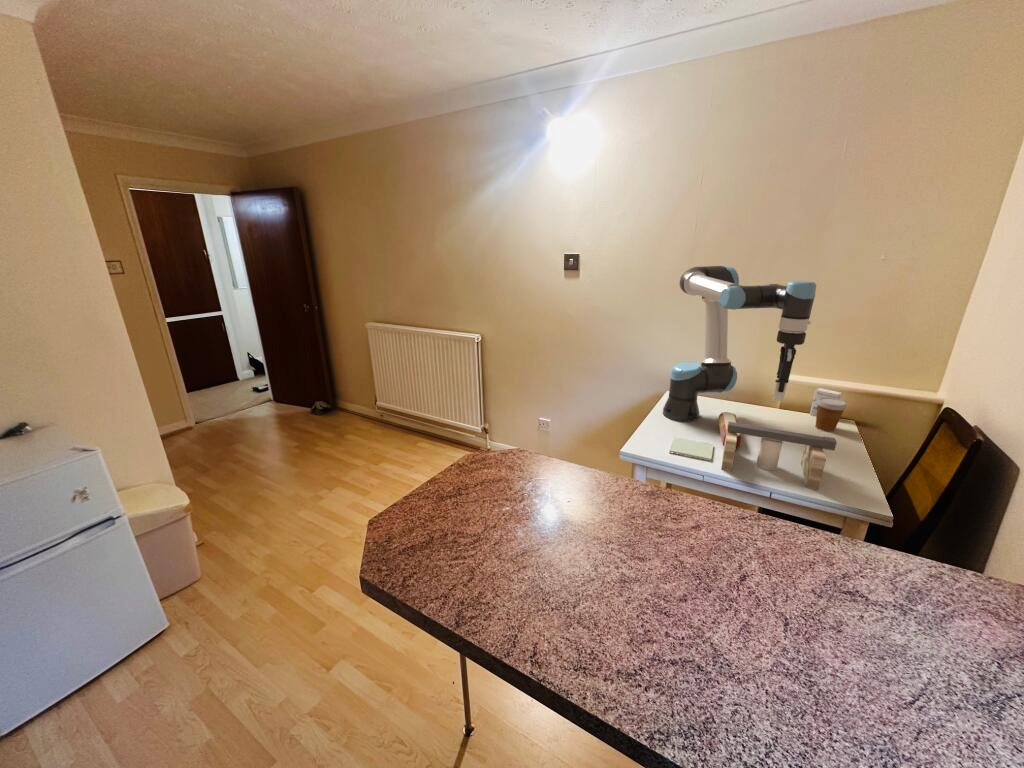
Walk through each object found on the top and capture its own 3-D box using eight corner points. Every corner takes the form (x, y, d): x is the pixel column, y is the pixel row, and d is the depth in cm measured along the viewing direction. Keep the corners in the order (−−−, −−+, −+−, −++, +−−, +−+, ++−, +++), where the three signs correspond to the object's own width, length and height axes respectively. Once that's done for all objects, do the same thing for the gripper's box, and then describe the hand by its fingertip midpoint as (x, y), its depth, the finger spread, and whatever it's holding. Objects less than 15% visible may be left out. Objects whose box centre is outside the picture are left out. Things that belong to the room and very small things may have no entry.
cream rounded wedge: (756, 460, 142) (761, 434, 139) (776, 464, 139) (781, 438, 136) (756, 468, 137) (761, 442, 134) (777, 472, 134) (783, 445, 131)
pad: (674, 439, 158) (674, 436, 158) (713, 446, 152) (713, 444, 151) (669, 452, 148) (669, 450, 148) (710, 461, 142) (711, 458, 142)
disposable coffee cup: (814, 431, 162) (821, 404, 158) (808, 422, 170) (814, 395, 166) (843, 435, 158) (851, 407, 154) (835, 425, 167) (842, 398, 163)
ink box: (836, 417, 173) (843, 392, 169) (832, 420, 170) (839, 395, 167) (813, 411, 180) (819, 387, 176) (809, 414, 177) (815, 389, 173)
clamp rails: (723, 448, 150) (728, 422, 147) (811, 465, 138) (818, 437, 134) (721, 469, 137) (726, 441, 133) (818, 489, 124) (826, 459, 121)
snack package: (740, 450, 149) (743, 434, 147) (720, 447, 152) (723, 431, 149) (734, 427, 168) (737, 412, 165) (717, 424, 170) (719, 410, 168)
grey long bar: (727, 428, 142) (728, 420, 141) (832, 446, 128) (835, 438, 127) (727, 432, 140) (728, 424, 139) (834, 450, 126) (836, 442, 125)
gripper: (809, 336, 121) (793, 408, 128) (803, 327, 133) (789, 393, 141) (780, 334, 124) (765, 404, 132) (777, 325, 137) (764, 390, 144)
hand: (777, 398), depth 136 cm, fingers open, 2 cm apart
